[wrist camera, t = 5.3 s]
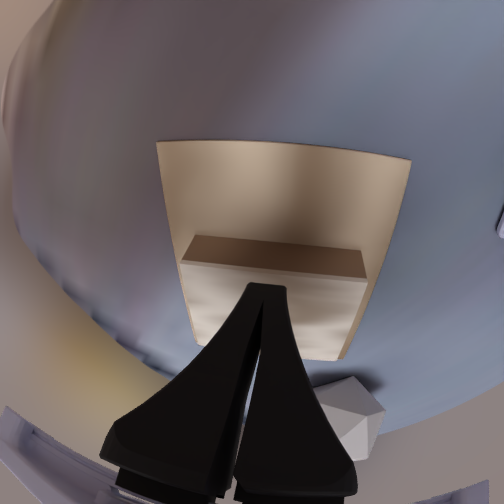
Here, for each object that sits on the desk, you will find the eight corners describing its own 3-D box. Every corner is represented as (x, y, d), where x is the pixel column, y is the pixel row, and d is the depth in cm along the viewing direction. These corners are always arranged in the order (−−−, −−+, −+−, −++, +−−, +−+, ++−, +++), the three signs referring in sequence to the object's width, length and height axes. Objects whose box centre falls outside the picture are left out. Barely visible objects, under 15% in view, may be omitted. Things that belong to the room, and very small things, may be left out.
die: (318, 404, 29) (368, 461, 21) (257, 422, 24) (310, 497, 17) (354, 353, 26) (417, 413, 19) (291, 367, 22) (365, 453, 14)
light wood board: (410, 160, 11) (411, 161, 11) (342, 357, 21) (343, 359, 21) (158, 141, 13) (156, 142, 12) (196, 340, 22) (195, 342, 22)
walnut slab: (367, 283, 12) (336, 361, 17) (360, 250, 14) (335, 330, 19) (179, 263, 14) (198, 344, 18) (195, 234, 15) (208, 316, 20)
